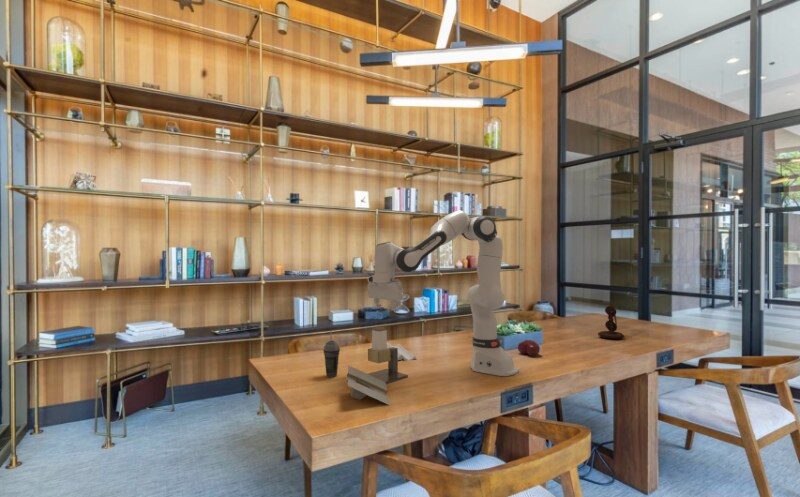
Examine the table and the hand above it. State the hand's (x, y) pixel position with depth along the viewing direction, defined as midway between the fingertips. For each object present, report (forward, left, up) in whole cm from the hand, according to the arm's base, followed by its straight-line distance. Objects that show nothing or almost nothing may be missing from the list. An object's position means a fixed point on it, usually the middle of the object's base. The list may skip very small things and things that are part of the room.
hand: (385, 309), depth 178 cm
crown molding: (+26, -31, -30) cm, 51 cm away
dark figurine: (-42, -154, -30) cm, 163 cm away
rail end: (-2, +5, -21) cm, 21 cm away
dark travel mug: (+16, +18, -30) cm, 38 cm away
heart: (-27, -79, -30) cm, 89 cm away
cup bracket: (-2, +3, -30) cm, 30 cm away
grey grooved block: (-16, +23, -30) cm, 41 cm away
